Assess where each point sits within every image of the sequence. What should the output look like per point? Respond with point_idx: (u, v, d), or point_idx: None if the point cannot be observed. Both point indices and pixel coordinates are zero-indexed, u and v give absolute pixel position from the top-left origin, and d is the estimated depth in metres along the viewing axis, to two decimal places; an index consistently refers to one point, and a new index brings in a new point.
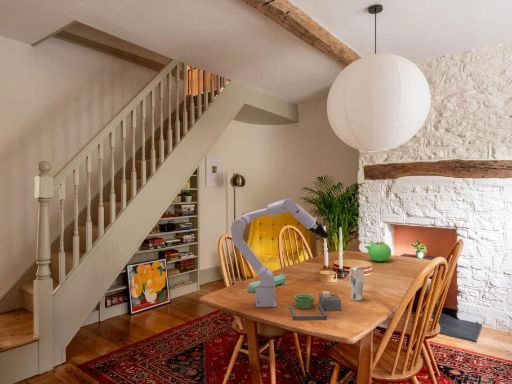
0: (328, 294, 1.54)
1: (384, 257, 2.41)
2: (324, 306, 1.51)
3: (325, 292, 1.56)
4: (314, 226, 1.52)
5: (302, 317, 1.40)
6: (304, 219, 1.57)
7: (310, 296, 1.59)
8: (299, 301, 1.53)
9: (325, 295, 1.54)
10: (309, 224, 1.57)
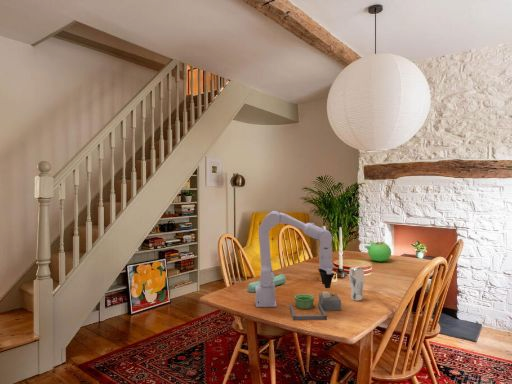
0: (328, 294, 1.54)
1: (384, 257, 2.41)
2: (324, 306, 1.51)
3: (325, 292, 1.56)
4: (328, 271, 1.48)
5: (302, 317, 1.40)
6: (325, 259, 1.53)
7: (310, 296, 1.59)
8: (299, 301, 1.53)
9: (325, 295, 1.54)
10: (325, 266, 1.53)
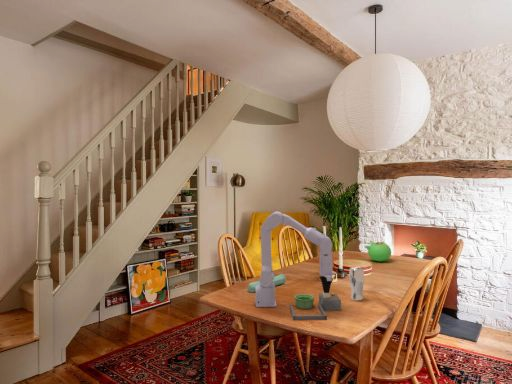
0: (328, 294, 1.54)
1: (384, 257, 2.41)
2: (324, 306, 1.51)
3: None
4: (329, 278, 1.48)
5: (302, 317, 1.40)
6: (325, 265, 1.53)
7: (310, 296, 1.59)
8: (299, 301, 1.53)
9: (325, 295, 1.54)
10: (325, 272, 1.53)
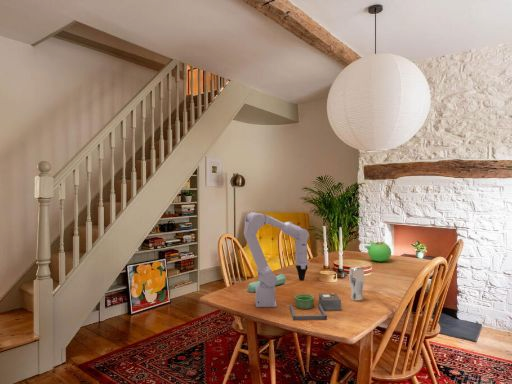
0: (328, 297, 1.54)
1: (384, 257, 2.41)
2: (324, 306, 1.51)
3: (325, 295, 1.56)
4: (302, 266, 1.59)
5: (302, 317, 1.40)
6: (300, 254, 1.63)
7: (310, 296, 1.59)
8: (299, 301, 1.53)
9: None
10: (300, 261, 1.63)
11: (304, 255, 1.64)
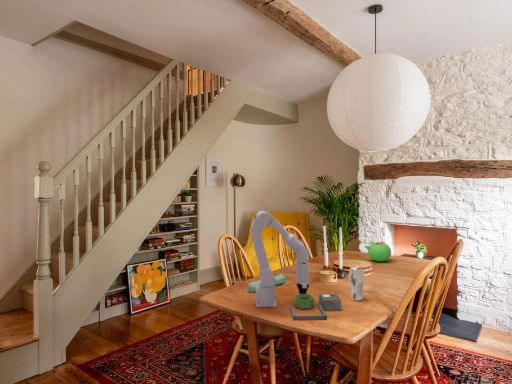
0: (328, 297, 1.54)
1: (384, 257, 2.41)
2: (324, 306, 1.51)
3: (325, 295, 1.56)
4: (304, 286, 1.55)
5: (302, 317, 1.40)
6: (301, 273, 1.60)
7: (310, 296, 1.59)
8: (299, 301, 1.53)
9: None
10: (301, 280, 1.60)
11: (305, 273, 1.60)
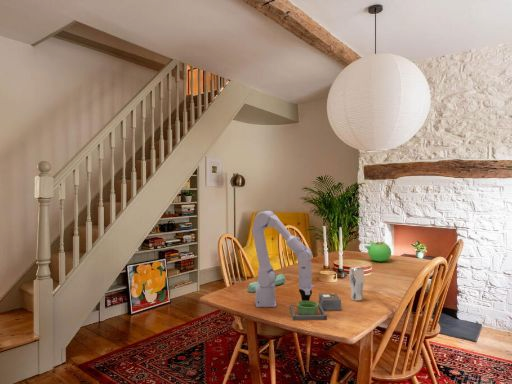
0: (328, 297, 1.54)
1: (384, 257, 2.41)
2: (324, 306, 1.51)
3: (325, 295, 1.56)
4: (307, 292, 1.46)
5: (302, 317, 1.40)
6: (304, 278, 1.50)
7: (314, 303, 1.49)
8: (302, 308, 1.44)
9: None
10: (304, 286, 1.50)
11: (308, 279, 1.50)
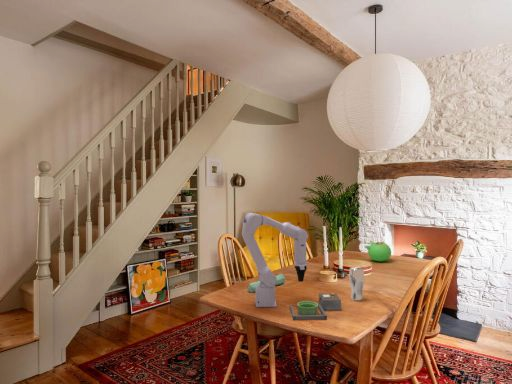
0: (328, 297, 1.54)
1: (384, 257, 2.41)
2: (324, 306, 1.51)
3: (325, 295, 1.56)
4: (301, 267, 1.57)
5: (302, 317, 1.40)
6: (299, 255, 1.62)
7: (314, 303, 1.49)
8: (302, 309, 1.44)
9: None
10: (299, 262, 1.62)
11: (303, 256, 1.62)
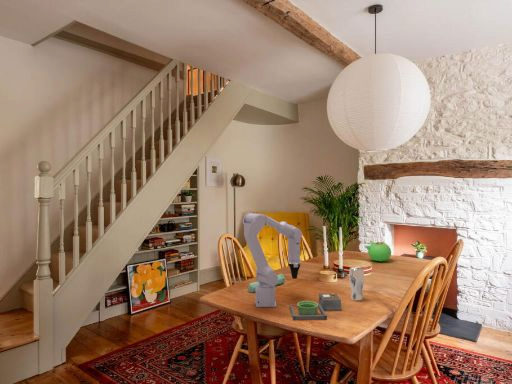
0: (328, 297, 1.54)
1: (384, 257, 2.41)
2: (324, 306, 1.51)
3: (325, 295, 1.56)
4: (295, 265, 1.62)
5: (302, 317, 1.40)
6: (293, 253, 1.67)
7: (314, 303, 1.49)
8: (302, 309, 1.44)
9: None
10: (293, 260, 1.67)
11: (297, 254, 1.67)
